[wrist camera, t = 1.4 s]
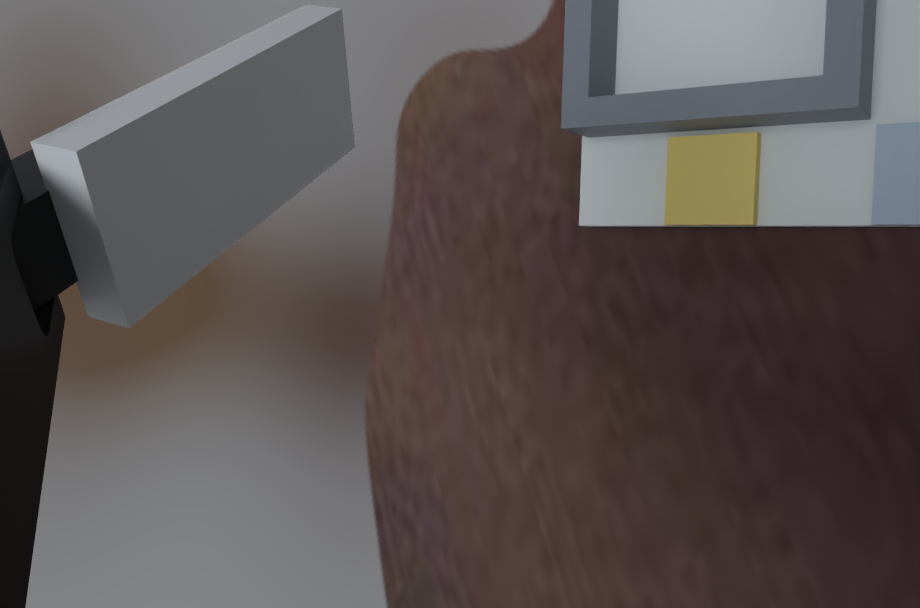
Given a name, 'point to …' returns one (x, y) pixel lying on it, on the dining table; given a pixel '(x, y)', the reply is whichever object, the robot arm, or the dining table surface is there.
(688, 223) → the panel
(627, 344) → the dining table surface
